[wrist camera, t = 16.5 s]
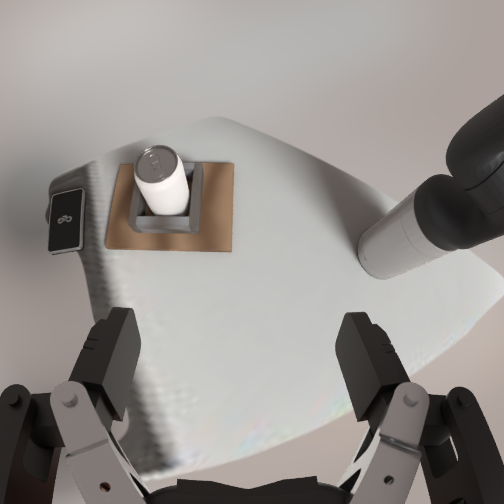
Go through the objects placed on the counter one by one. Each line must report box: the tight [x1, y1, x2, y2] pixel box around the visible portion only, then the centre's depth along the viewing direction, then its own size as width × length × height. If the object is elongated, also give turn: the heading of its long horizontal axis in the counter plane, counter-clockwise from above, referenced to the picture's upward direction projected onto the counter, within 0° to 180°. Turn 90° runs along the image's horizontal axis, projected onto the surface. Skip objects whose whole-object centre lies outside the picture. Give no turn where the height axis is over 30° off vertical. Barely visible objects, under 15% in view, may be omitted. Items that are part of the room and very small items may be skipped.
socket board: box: [105, 163, 234, 252], centre depth 44 cm, size 20×15×5 cm
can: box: [134, 145, 191, 217], centre depth 40 cm, size 6×6×12 cm
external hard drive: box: [47, 188, 86, 255], centre depth 44 cm, size 7×11×2 cm, turn 9°
